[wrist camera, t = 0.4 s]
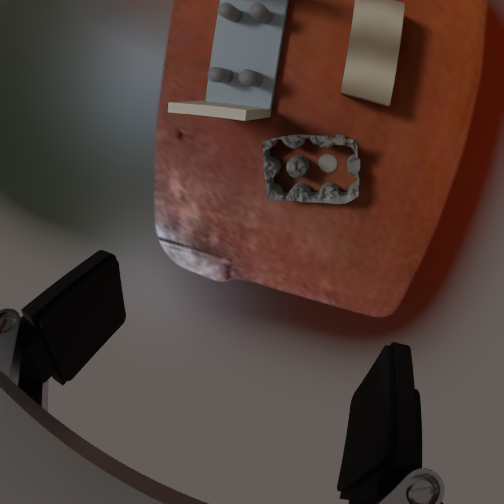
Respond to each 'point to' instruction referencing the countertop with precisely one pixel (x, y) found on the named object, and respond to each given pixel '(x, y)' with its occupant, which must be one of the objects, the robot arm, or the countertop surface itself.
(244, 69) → the peg stand
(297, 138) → the egg carton
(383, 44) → the beige wavy block
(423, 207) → the countertop surface
